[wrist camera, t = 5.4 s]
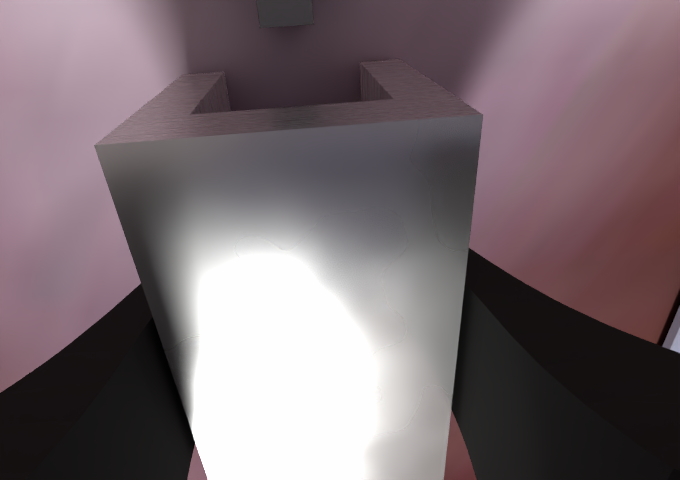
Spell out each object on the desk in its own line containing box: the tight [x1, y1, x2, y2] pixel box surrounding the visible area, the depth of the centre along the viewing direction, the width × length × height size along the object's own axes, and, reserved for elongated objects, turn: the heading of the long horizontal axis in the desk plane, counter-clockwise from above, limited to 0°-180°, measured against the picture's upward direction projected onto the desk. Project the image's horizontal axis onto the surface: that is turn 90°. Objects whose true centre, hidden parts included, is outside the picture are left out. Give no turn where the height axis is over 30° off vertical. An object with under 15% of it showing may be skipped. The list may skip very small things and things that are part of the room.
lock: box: [94, 59, 483, 480], centre depth 10 cm, size 8×5×5 cm, turn 3°
